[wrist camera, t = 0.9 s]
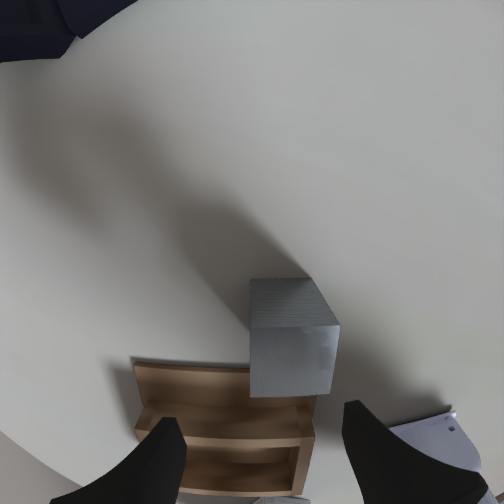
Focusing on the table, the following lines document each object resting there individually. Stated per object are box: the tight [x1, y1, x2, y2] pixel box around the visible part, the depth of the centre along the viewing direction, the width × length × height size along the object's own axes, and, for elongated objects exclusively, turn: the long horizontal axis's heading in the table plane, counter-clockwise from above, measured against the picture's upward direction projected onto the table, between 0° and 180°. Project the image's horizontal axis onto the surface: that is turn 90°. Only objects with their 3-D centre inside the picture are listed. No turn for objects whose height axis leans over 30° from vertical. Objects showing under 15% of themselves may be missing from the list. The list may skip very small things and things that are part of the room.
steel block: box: [250, 278, 340, 397], centre depth 16 cm, size 4×4×7 cm
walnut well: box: [134, 362, 316, 497], centre depth 21 cm, size 14×16×4 cm
